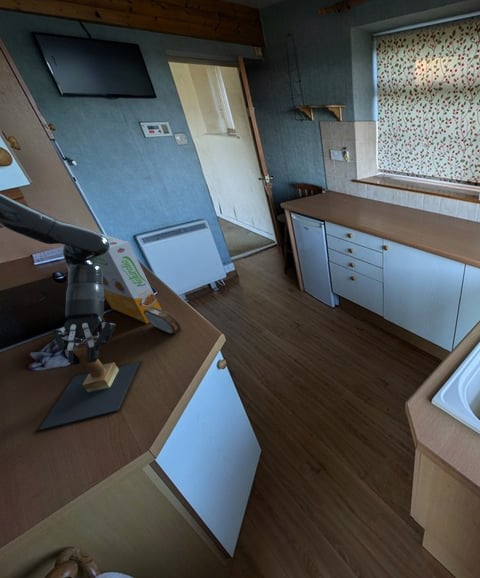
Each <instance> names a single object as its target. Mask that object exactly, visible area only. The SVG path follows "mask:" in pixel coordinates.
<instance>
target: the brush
mask: <svg viewBox="0 0 480 578" xmlns="http://www.w3.org/2000/svg"><path fill="white" fill-rule="evenodd" d="M88 348H90V347H89V345H88V342H82V343H81V344H79V345H76V346H75V347H73V349H72V351H73V352H74V354H75V355H76V356H77V358H78V359H79V360H80V364H81V365H82V366H83V367H84V369H85V370H86V372H87V373H89V375H88V376H87V378H86V379H85V381H84V383H83V384H82V385H83V386H84V388H85V389H86V390H87V392H92V391H96V390H101V389H105V388H110V386H111V385H112V383H113V381H114V379H115V377H116V375H117V373H118V371H119V369H118V368H117V367H118V366H117V365H116V363H115V362H109V363H105V364H104V363H102V362H101V361H100V359H99V358H98V359H97V361H96V362H88Z"/></svg>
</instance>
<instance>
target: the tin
mask: <svg viewBox="0 0 480 578" xmlns="http://www.w3.org/2000/svg"><path fill="white" fill-rule="evenodd" d="M144 314H145V316H146V317H147V319H148V321H149V323H150V324H151V325H152V326H153V327H154V328H157V329H158V330H161V331H163V332H165V333H168V334H170V335H174V334H176V333H177V332H179V331H181V328H182V327H181V325H180V323H179V322H178V319H176V317H174V316H173V315H172V314H171V313H169V312H167V311H165V310H163V309H161V310H160V309H158V308H155V307H153V306H151V307H150V308H148V309H146V310H145V311H144Z"/></svg>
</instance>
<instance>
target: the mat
mask: <svg viewBox="0 0 480 578" xmlns="http://www.w3.org/2000/svg"><path fill="white" fill-rule="evenodd" d="M139 365H140V362H135V363H134V362H133V363H130V364H129V363H128V364H125V365H121V366H117V368H118V369H119V371H118V373H117V375H116V377H115V379H114V381H113V383H112V385H111V386H110V388H105V389H101V390H96V391H92V392H87V390H86V389H85V388H84V386H83V385H82V384H83V383H84V381H85V379H86V378H87V376H88V375H89V372H86V373H82V374H78V375H74V376H73V377H72V379H71V380H70V382H69V383H68V385H67V386H66V387H65V389H64V390H63V392H62V393H61V395H60V397H59V398H58V400H57V401H56V403H55V405H53V407H52V409H51V410H50V412H49V413H48V414H47V416H46V418H45V419H44V420H43V422H42V424H41V425H40V426H39V428H38V431H39V432H40V431H44V430H49V429H52V428H55V427H60V426H63V425H68V424H72V423H75V422H80V421H84V420H88V419H91V418H96V417H100V416H104V415H107V414H111V413H115V412H118V411H119V410H120V408H121V405H122V403H123V401H124V399H125V397H126V394H127V391H128V389H129V387H130V385H131V383H132V380H133V378H134V377H135V374H136V372H137V370H138V367H139Z"/></svg>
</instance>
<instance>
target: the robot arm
mask: <svg viewBox="0 0 480 578" xmlns="http://www.w3.org/2000/svg"><path fill="white" fill-rule="evenodd" d="M0 226H1V227H3V228H5V229H7V230H10V231H12V232H15V233H17V234H19V235H21V236H24V237H27V238H29V239H32V240H35V241H37V242H40V243H43V244H47V245H56V244H57V245H58V244H60V245H63V247H62V255H63V258H64V262H65V266H66V268H67V270H68V272H67V273H68V274H67V288H66V291H65V310H64V317H65V320H66V321H65V322H64V323H65V324H63V327H61V328H58V329H53V330H51V332H50V333H51V336H52V337H53V339H54V341H55V343H56V345H57V347H58V349H59V350H62V351H63V350H64V351H67V352H68V358H67V362H68V364H70V366H79V365H80V364H81V362H80V360H79V359H78V358H77V356H76V355H75V354H74V352H73V351H72V349H73V347H75V346H76V345H79V344H82V343H84V340H86V341H87V344H88V345H89V347H90V348H88V362H96V361H97V359H99V357H100V347H101V346H102V347H103V346H104V345H105V346H106V345H108V344H109V341H110V339H111V337H112V335H113V333H114V331H115V329H116V327H117V324H116V323H114V322H105V319H104V316H105V296H104V290H103V270H102V269H101V268H100V267H99V266H97V265H94V258H95V257H98V256H101V255H103V254H105V253H107V252H108V250H109V248H110V245H109V242H108V240H107V239H106V238H105V237H104V236H102V235H101V234H102V233H100V232H97V231H95V230H92V229H90V228H86V227H82V226H79V225H76V224H72V223H68V222H65V221H61V220H59V219H57V218H55V217H54V216H51V215H49V214H46V213H44V212H43V211H42V212H41V211H40V210H38V209H35V208H33V207H31V206H28V205H27V204H24V203H22V202H19V201H17V200H16V199H13V198H11V197H9V196H7V195H4V194H2V193H0ZM99 233H100V234H99ZM101 329H102V330H101ZM100 330H101V332H100ZM68 334H69V335H68Z"/></svg>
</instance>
